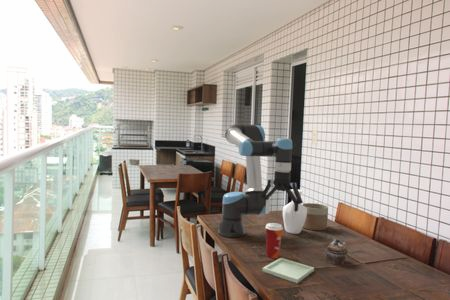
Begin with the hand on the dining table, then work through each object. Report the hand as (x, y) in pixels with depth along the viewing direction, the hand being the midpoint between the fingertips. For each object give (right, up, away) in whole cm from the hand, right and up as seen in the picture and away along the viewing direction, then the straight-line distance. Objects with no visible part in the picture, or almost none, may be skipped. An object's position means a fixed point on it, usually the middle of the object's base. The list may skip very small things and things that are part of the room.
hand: (280, 215), depth 162 cm
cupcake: (+25, -21, -4) cm, 33 cm away
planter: (+30, -18, +52) cm, 63 cm away
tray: (+1, -20, -17) cm, 27 cm away
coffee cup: (-4, -19, 0) cm, 20 cm away
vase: (+15, -18, +41) cm, 47 cm away
